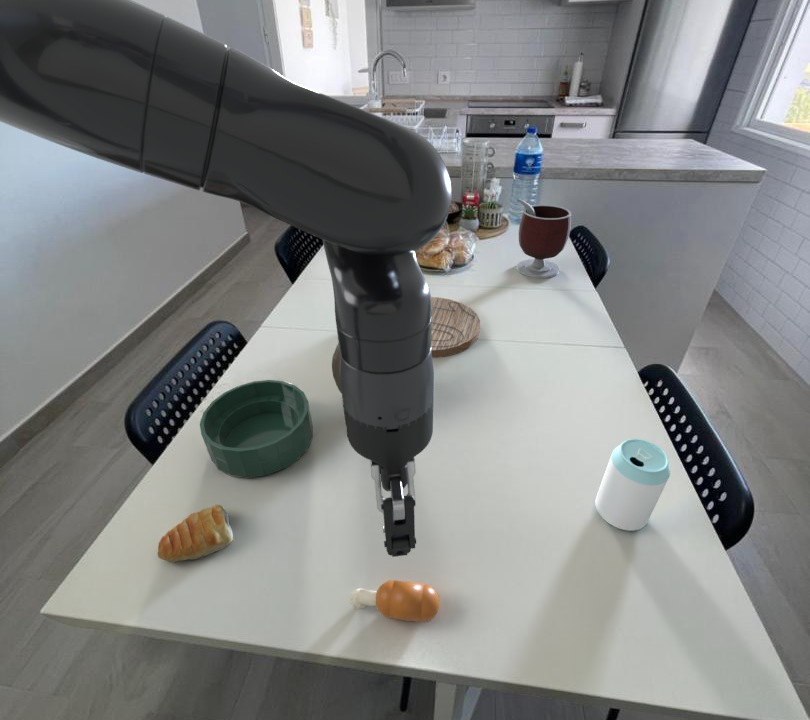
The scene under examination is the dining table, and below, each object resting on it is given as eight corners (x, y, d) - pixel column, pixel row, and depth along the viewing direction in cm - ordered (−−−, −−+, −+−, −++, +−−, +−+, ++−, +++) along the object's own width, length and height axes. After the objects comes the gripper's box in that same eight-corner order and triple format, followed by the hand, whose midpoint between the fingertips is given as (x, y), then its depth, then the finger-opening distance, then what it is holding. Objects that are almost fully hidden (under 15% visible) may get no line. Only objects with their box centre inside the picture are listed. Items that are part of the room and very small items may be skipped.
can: (650, 538, 61) (680, 480, 54) (595, 527, 62) (617, 469, 56) (642, 497, 66) (668, 440, 59) (592, 487, 68) (612, 430, 61)
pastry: (164, 579, 57) (154, 562, 55) (158, 539, 62) (148, 522, 60) (238, 543, 61) (231, 527, 59) (226, 508, 66) (219, 492, 64)
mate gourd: (563, 263, 136) (577, 196, 125) (559, 282, 126) (573, 210, 114) (512, 257, 141) (521, 191, 130) (504, 274, 131) (512, 205, 119)
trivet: (392, 298, 120) (392, 292, 119) (486, 309, 114) (487, 302, 113) (360, 349, 100) (359, 341, 99) (471, 365, 94) (471, 357, 93)
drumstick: (348, 618, 53) (344, 602, 51) (355, 585, 56) (352, 568, 54) (438, 630, 52) (438, 614, 50) (440, 596, 55) (441, 579, 53)
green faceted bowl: (241, 498, 68) (231, 469, 64) (194, 440, 78) (182, 412, 74) (332, 439, 77) (328, 411, 74) (279, 395, 87) (273, 368, 84)
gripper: (341, 348, 42) (356, 464, 52) (342, 462, 31) (360, 586, 40) (420, 341, 43) (420, 458, 52) (450, 451, 31) (443, 575, 41)
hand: (394, 513), depth 46 cm, fingers open, 8 cm apart
